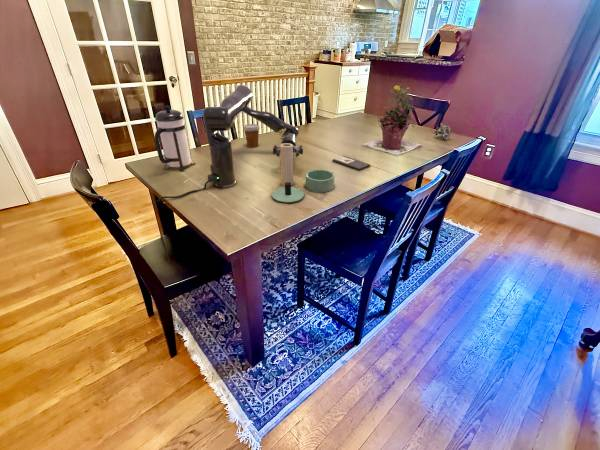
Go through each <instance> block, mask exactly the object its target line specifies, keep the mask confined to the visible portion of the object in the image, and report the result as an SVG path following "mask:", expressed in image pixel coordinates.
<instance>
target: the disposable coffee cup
mask: <svg viewBox="0 0 600 450" xmlns="http://www.w3.org/2000/svg"><path fill="white" fill-rule="evenodd" d="M243 131H244V135H245V140H246V144H247V147H248V148H257V147H259V136H260V135H259V131H260V127H259V125H258V124H256V123H248V124H244V125H243Z"/></svg>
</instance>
